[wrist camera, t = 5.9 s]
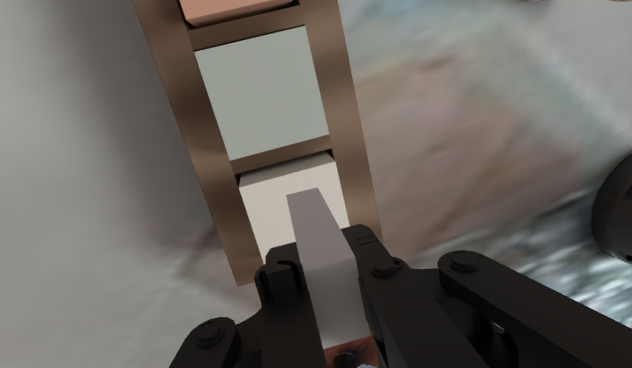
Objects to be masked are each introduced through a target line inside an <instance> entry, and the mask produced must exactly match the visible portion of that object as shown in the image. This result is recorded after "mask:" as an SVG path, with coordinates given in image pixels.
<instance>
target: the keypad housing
mask: <svg viewBox="0 0 632 368" xmlns="http://www.w3.org/2000/svg"><path fill="white" fill-rule="evenodd" d="M132 1H133V3H134V6H135V9H136V12H137V14H138V17H139V20H140V22H141V25H142V28H143V31H144V33H145V36H146V39H147V41H148V44H149V47H150V50H151V52H152V55H153V58H154V60H155V63H156V66H157V69H158V71H159V74H160V77H161V79H162V82H163V85H164V88H165V90H166V93H167V96H168V98H169V101H170V104H171V107H172V109H173V112H174V115H175V117H176V120H177V123H178V126H179V128H180V131H181V134H182V136H183V139H184V142H185V145H186V147H187V150H188V153H189V155H190V158H191V161H192V164H193V166H194V169H195V172H196V174H197V177H198V180H199V183H200V185H201V188H202V191H203V193H204V196H205V199H206V202H207V204H208V207H209V210H210V212H211V215H212V218H213V221H214V223H215V226H216V229H217V231H218V234H219V237H220V240H221V242H222V245H223V248H224V250H225V253H226V256H227V259H228V261H229V264H230V267H231V269H232V272H233V275H234V278H235V280H236V283H237V286H241V285H245V284H248V283H251V282H255V281H254V275H255V273H256V271H257V270H258V269H259V268H260V267H261V266H263V265H264V263H263V260H262V257H261V254H260V251H259V248H258V245H257V242H256V238H255V235H254V232H253V229H252V226H251V223H250V220H249V217H248V214H247V211H246V208H245V205H244V202H243V199H242V196H241V193H240V190H239V184H240V179H241V173H242V172H245V171H249V170H253V169H256V168H260V167H264V166H268V165H271V164H275V163H279V162H282V161H286V160H290V159H293V158H297V157H301V156H304V155H308V154H312V153H316V152H319V151H323V150H325V151H326V152H327V153H328V154H329V155H330V156H331V157H332V158H333V160H334V161H335V162H336V167H337V171H338V176H339V180H340V185H341V189H342V193H343V198H344V202H345V207H346V211H347V216H348V220H349V225H350V226H354V225H357V224H363V225H365V226H367V227H369V228H371V230H372V231H373V232H374V234H375V236H377V238H378V239H379V241H380V242H381V243H383V237H382V232H381V227H380V222H379V216H378V211H377V206H376V201H375V195H374V190H373V185H372V179H371V174H370V169H369V164H368V158H367V153H366V148H365V143H364V137H363V132H362V127H361V122H360V116H359V111H358V106H357V101H356V95H355V90H354V85H353V79H352V74H351V69H350V64H349V58H348V53H347V48H346V43H345V37H344V32H343V27H342V22H341V16H340V11H339V6H338V0H293V1H292V4H291V6H290V8H285V9H281V10H277V11H272V12H268V13H264V14H259V15H255V16H251V17H246V18H242V19H238V20H233V21H229V22H225V23H220V24H216V25H212V26H207V27H203V28H199V29H196V28H195V27H194V26H193V25H192V24H190V23H189V22H188V21H187V20H186V18H185V15H184V12H183V9H182V6H181V3H180V0H132ZM302 26H305V28H306V32H307V37H308V41H309V46H310V50H311V55H312V59H313V63H314V68H315V72H316V77H317V81H318V86H319V90H320V95H321V99H322V104H323V108H324V113H325V117H326V122H327V126H328V131H329V134H328V135H324V136H321V137H317V138H313V139H309V140H306V141H302V142H298V143H294V144H291V145H287V146H283V147H279V148H276V149H272V150H268V151H264V152H261V153H257V154H253V155H249V156H246V157H242V158H238V159H234V160H231V161H230V160H229V157H228V153H227V150H226V147H225V144H224V141H223V138H222V135H221V132H220V129H219V126H218V123H217V120H216V117H215V114H214V111H213V108H212V105H211V102H210V99H209V96H208V93H207V90H206V87H205V84H204V81H203V78H202V75H201V72H200V69H199V65H198V62H197V59H196V56H195V53H194V52H197V51H201V50H205V49H209V48H214V47H218V46H222V45H226V44H230V43H235V42H239V41H243V40H247V39H252V38H256V37H260V36H264V35H268V34H273V33H277V32H281V31H285V30H290V29H294V28H298V27H302Z"/></svg>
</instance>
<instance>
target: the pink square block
mask: <svg viewBox="0 0 632 368" xmlns="http://www.w3.org/2000/svg"><path fill="white" fill-rule="evenodd" d="M292 1H293V0H180V3H181V6H182V9H183V12H184V15H185V18H186V20H187V21H188V22H189V23H190V24H192V25H193V26H194V27H195V28H196V29H199V28H203V27H207V26H212V25H216V24H220V23H225V22H229V21H233V20H238V19H242V18H246V17H251V16H255V15H259V14H264V13H268V12H272V11H277V10H281V9H285V8H290V6H291V4H292Z"/></svg>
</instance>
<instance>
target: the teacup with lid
mask: <svg viewBox="0 0 632 368" xmlns="http://www.w3.org/2000/svg"><path fill="white" fill-rule="evenodd" d="M529 1H543V0H529ZM610 1H616V2H628V1H632V0H610Z"/></svg>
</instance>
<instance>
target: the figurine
mask: <svg viewBox="0 0 632 368" xmlns="http://www.w3.org/2000/svg"><path fill="white" fill-rule="evenodd" d="M368 325H369V324H368ZM369 331H370V336H367V337H364V338H360V339H357V340H353V341H350V342H346V343H343V344H340V345H336V346H333V347H329V348H326V349H323V350H324V354H325V358H326V362H327V366H328V368H357V367H358V366H360V364H361V365H362V364H366V365H372V366H377V367H378V368H379V364H378V359H377V354H376V348H375V343H374V338H373V333H372V331H371V329H370V327H369ZM383 368H384V367H383Z"/></svg>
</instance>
